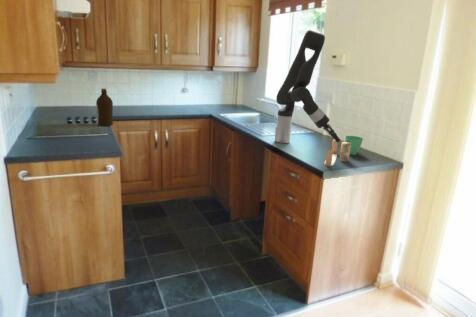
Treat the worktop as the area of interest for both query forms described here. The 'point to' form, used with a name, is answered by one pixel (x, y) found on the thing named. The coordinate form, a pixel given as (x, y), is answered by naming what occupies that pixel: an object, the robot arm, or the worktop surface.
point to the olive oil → (104, 109)
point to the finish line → (331, 155)
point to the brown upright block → (345, 151)
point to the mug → (354, 143)
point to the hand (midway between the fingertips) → (336, 139)
